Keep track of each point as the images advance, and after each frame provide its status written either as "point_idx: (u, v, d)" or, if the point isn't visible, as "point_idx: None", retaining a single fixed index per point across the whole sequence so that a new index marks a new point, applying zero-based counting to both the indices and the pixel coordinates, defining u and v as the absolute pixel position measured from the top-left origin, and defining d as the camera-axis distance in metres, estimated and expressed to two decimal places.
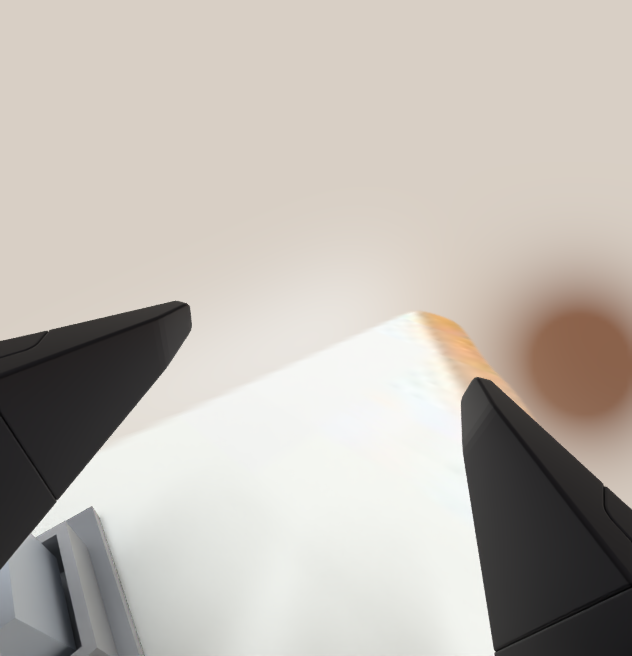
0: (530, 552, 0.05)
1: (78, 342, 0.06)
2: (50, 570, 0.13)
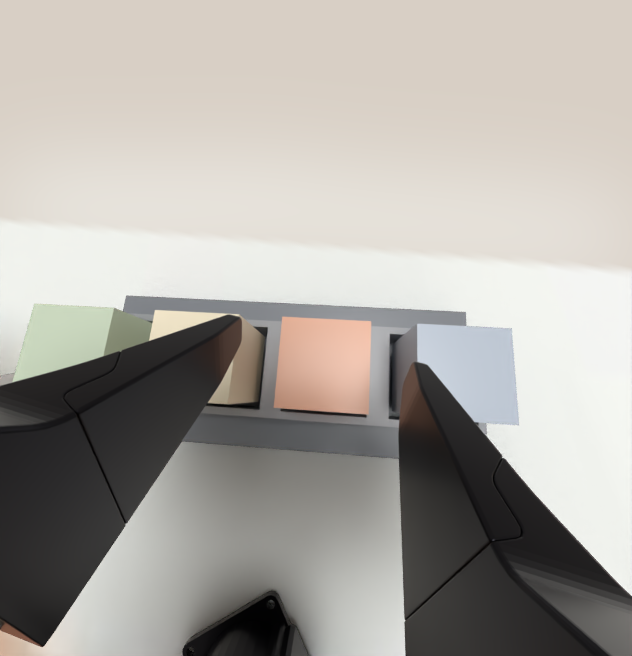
0: (432, 522, 0.06)
1: (154, 363, 0.06)
2: None
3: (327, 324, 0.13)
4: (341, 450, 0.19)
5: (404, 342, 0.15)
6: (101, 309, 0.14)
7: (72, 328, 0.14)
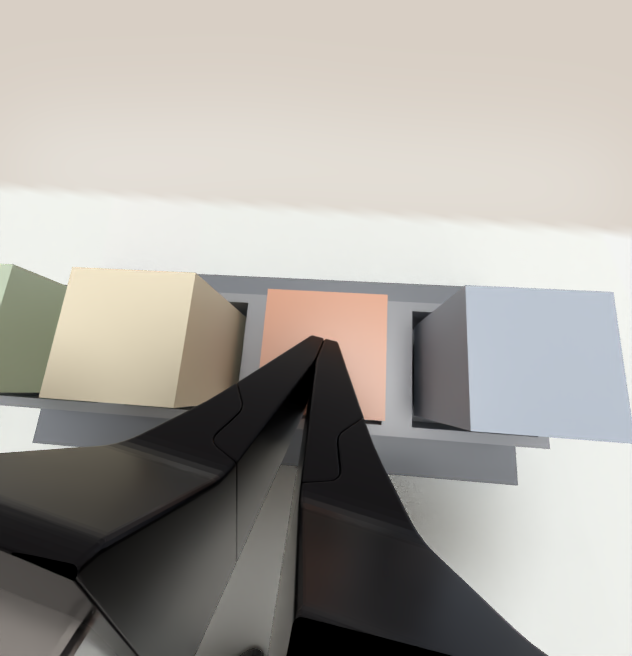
0: (296, 480, 0.06)
1: (276, 397, 0.06)
2: None
3: (328, 299, 0.10)
4: None
5: (437, 319, 0.11)
6: None
7: None
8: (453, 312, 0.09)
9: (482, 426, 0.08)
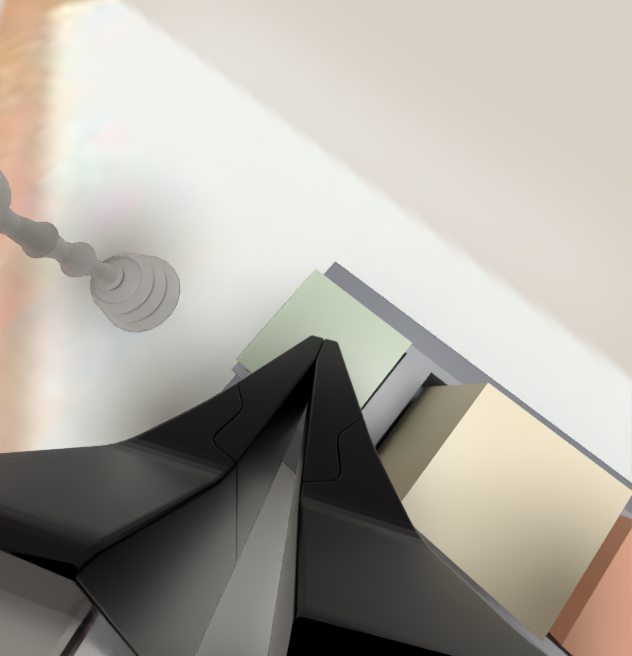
0: (296, 480, 0.06)
1: (276, 397, 0.06)
2: None
3: None
4: None
5: None
6: (394, 333, 0.10)
7: (347, 333, 0.10)
8: None
9: None
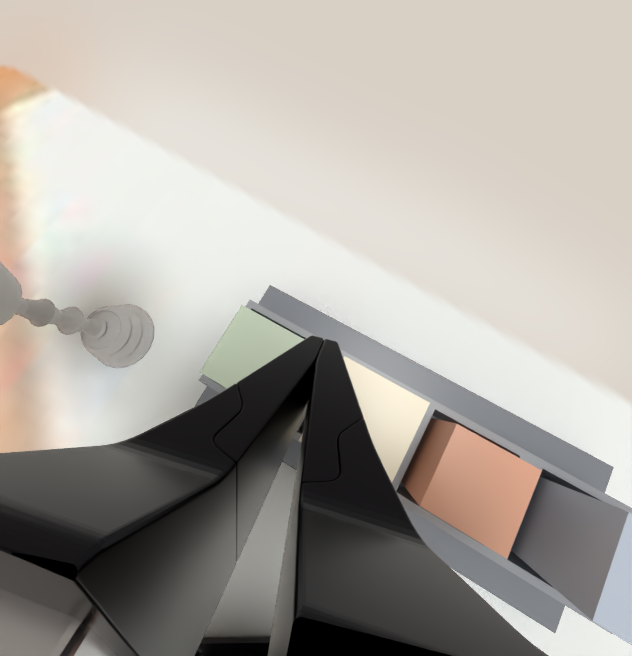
0: (296, 480, 0.06)
1: (276, 397, 0.06)
2: None
3: (497, 452, 0.14)
4: None
5: (574, 500, 0.13)
6: (296, 337, 0.15)
7: (267, 342, 0.15)
8: (602, 516, 0.12)
9: (601, 621, 0.11)
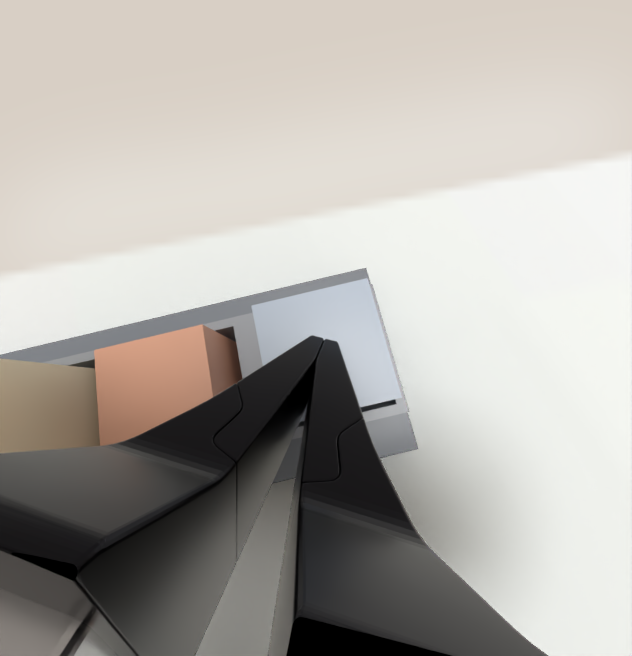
0: (297, 480, 0.06)
1: (276, 397, 0.06)
2: None
3: (150, 343, 0.11)
4: None
5: None
6: None
7: None
8: None
9: None
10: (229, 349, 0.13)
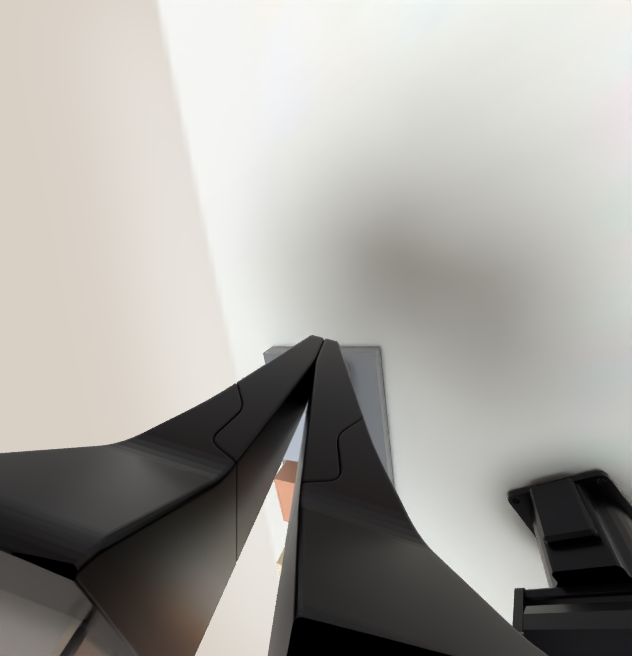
0: (297, 480, 0.06)
1: (276, 397, 0.06)
2: None
3: (281, 500, 0.23)
4: (382, 447, 0.25)
5: None
6: None
7: None
8: None
9: None
10: None
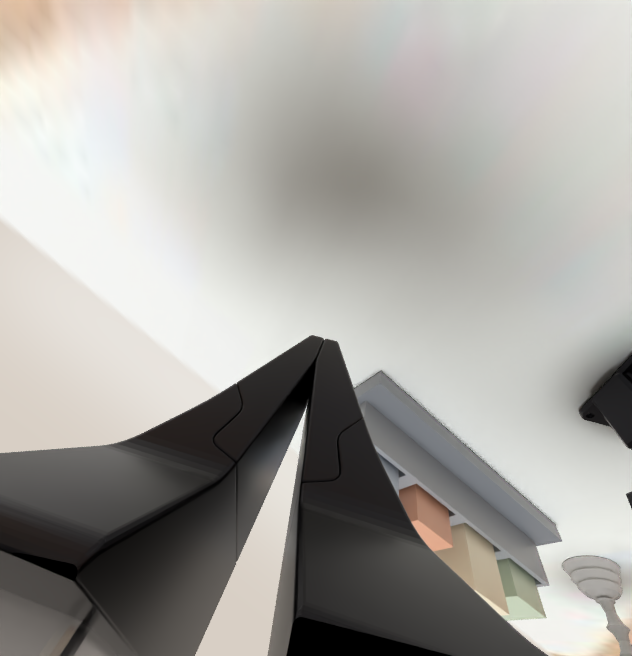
0: (296, 480, 0.06)
1: (276, 397, 0.06)
2: None
3: None
4: (446, 443, 0.25)
5: None
6: None
7: None
8: None
9: None
10: None
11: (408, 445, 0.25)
